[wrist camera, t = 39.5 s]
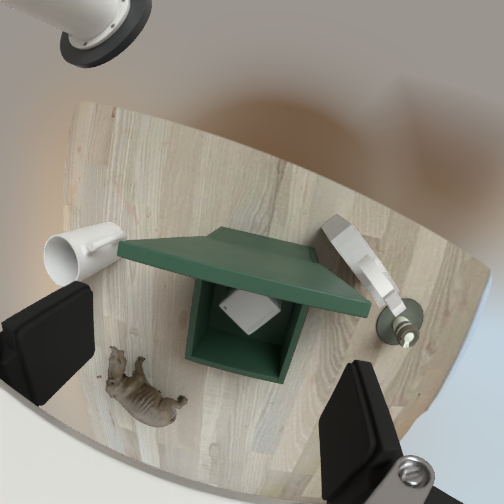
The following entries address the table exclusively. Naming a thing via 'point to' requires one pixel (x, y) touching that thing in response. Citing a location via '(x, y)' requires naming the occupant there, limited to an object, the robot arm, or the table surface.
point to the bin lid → (249, 271)
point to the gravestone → (363, 263)
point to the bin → (234, 337)
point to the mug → (82, 252)
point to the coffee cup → (401, 325)
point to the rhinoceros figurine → (139, 393)
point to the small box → (249, 308)
